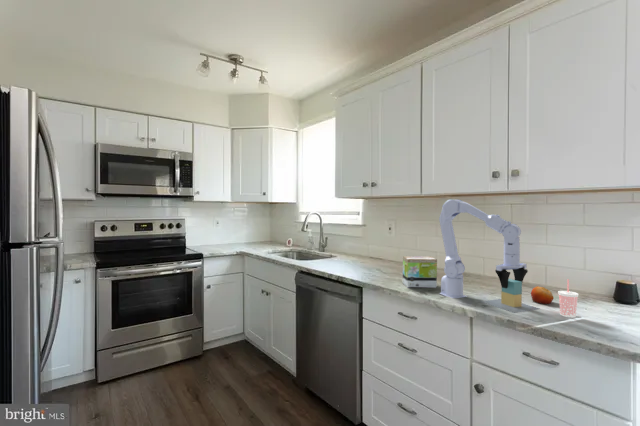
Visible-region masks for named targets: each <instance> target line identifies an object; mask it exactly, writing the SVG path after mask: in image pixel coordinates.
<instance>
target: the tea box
mask: <svg viewBox="0 0 640 426" xmlns="http://www.w3.org/2000/svg"><path fill="white" fill-rule="evenodd" d="M437 271H438V259H436V258H434V257H433V256H426V255H425V256H424V255H423V256H420V255H418V256H417V255H416V256H414V255H412V256H411V255H409V256H407V255H406V256H405V255H404V256H402V284H403V285H404V286H405V287H406V288H432V289H433V288H435V289H436V288H437V285H438V284H437V283H438V282H437V280H438V279H437V277H438V276H437V274H438V273H437Z"/></svg>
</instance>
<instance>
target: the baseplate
mask: <svg viewBox="0 0 640 426" xmlns="http://www.w3.org/2000/svg"><path fill="white" fill-rule="evenodd" d="M480 302H481V303H482V304H483V303H484V304H487V305H489V306H492V307H495V308H498V309H502V310H504V311H507V312H510V313H513V314H516V313H517V314H518V313H522V312H523V313H524V312H529V311H536V310H541V308H539V307H535V306H534V305H533V306H532V305H530V304H526V303H523V302H522V305H521V306H520V307H511V306H508V305H505V304H502V303H501V298H496V299H489V300H483V301H481V300H480Z"/></svg>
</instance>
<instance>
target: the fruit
mask: <svg viewBox="0 0 640 426" xmlns="http://www.w3.org/2000/svg"><path fill="white" fill-rule="evenodd" d="M530 295H531V296H530V297H531V300H532V303H536V304H542V305H550V304H551V303H552V302H553V301H554V295H553V293H552V291H550V290H549V289H547V288H546V287H543V286H539V285H538V286H537V285H536V286H534V287H533V288H532V289H531V292H530Z"/></svg>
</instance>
